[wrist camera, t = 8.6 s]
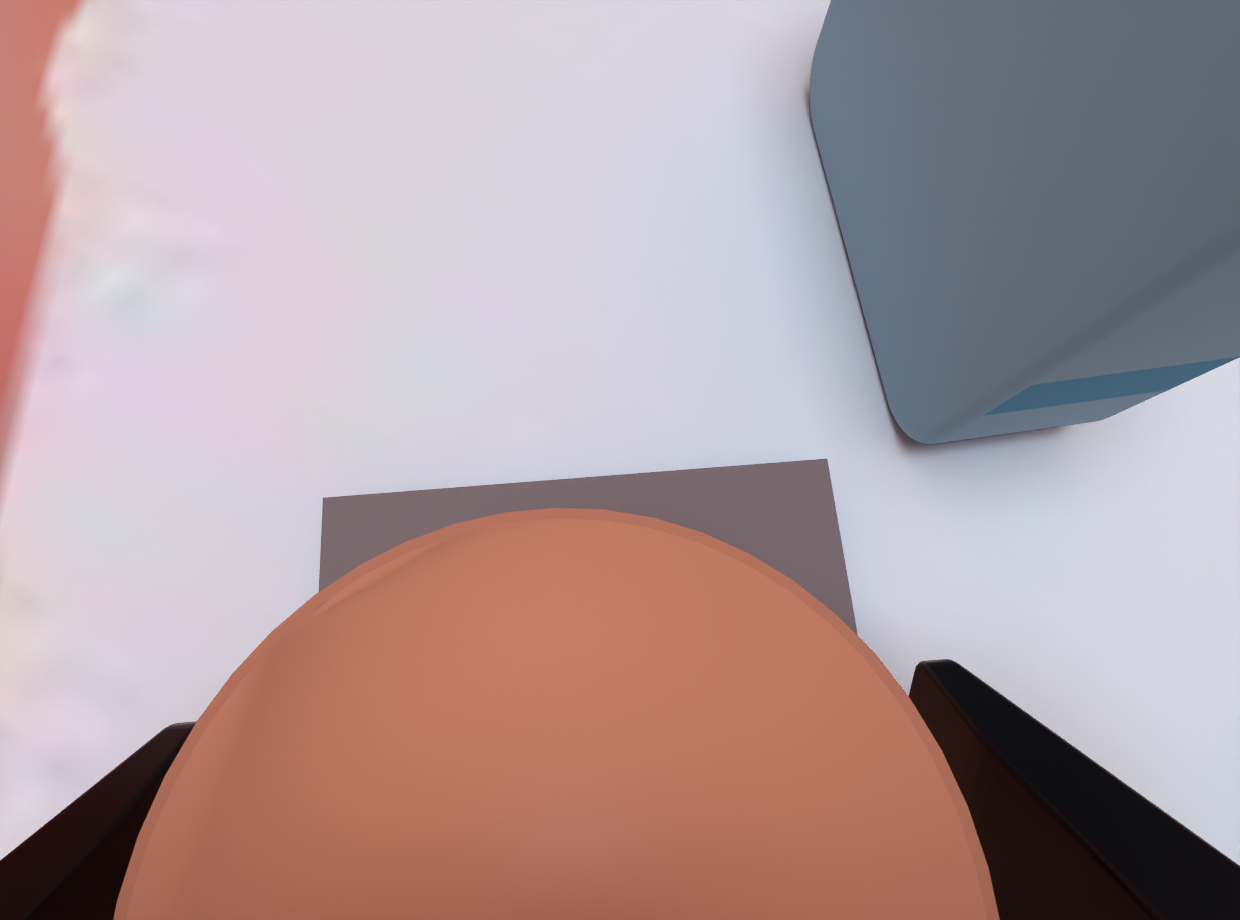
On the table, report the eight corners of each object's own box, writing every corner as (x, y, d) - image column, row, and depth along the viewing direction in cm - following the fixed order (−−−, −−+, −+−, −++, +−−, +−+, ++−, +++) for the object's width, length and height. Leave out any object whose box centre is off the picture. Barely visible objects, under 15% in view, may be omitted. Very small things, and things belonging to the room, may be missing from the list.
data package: (1069, 438, 17) (2069, -16, 5) (899, 461, 17) (1540, 49, 5) (941, 71, 20) (1384, -714, 8) (798, 87, 20) (1047, -688, 8)
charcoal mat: (909, 1034, 13) (931, 1065, 12) (318, 1092, 13) (294, 1128, 12) (814, 469, 16) (827, 458, 15) (340, 506, 16) (323, 497, 15)
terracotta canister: (826, 809, 13) (1207, 1129, 5) (533, 1020, 12) (340, 1911, 4) (646, 525, 15) (685, 374, 6) (373, 693, 14) (-27, 790, 5)
